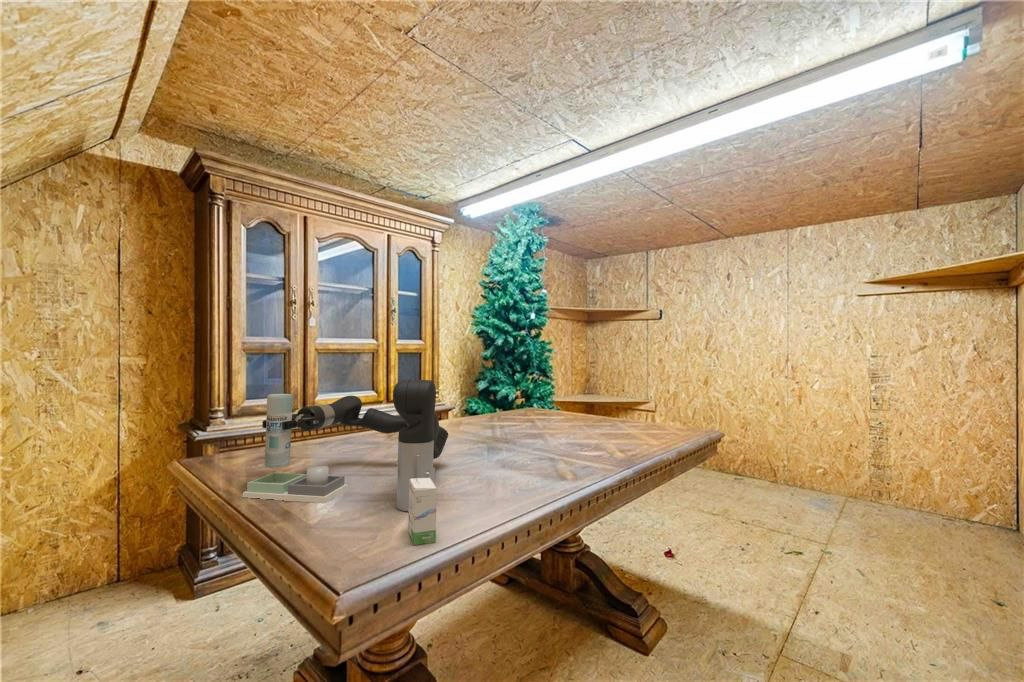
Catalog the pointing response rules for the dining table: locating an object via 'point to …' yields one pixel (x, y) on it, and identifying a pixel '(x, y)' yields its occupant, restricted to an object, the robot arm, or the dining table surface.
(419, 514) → the ink box
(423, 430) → the robot arm
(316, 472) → the double tray
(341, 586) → the dining table surface
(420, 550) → the dining table surface
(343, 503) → the dining table surface
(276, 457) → the spray paint can
